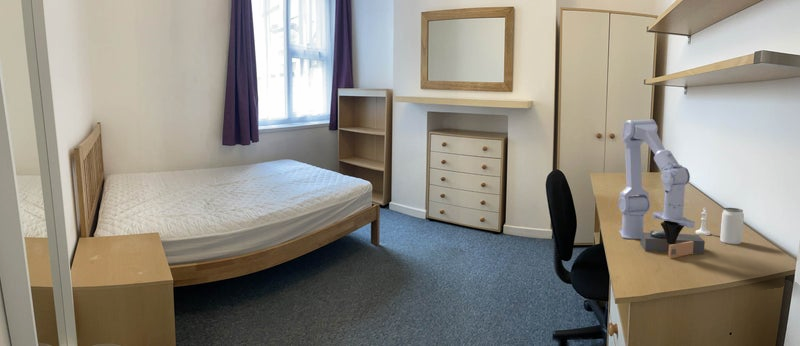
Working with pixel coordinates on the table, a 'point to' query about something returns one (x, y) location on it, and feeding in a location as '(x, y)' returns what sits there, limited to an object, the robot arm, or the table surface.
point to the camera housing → (658, 243)
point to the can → (732, 226)
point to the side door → (680, 249)
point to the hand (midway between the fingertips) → (671, 243)
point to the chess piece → (703, 225)
